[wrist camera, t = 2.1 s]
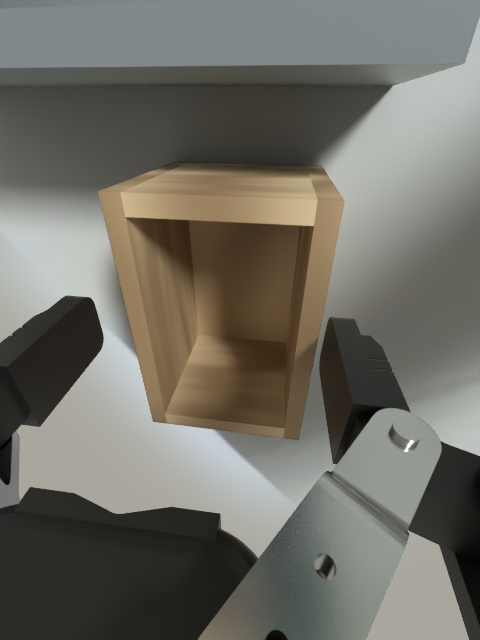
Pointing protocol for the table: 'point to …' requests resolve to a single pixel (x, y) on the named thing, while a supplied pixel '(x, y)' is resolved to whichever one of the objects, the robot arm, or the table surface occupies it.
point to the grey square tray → (231, 41)
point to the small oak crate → (225, 288)
